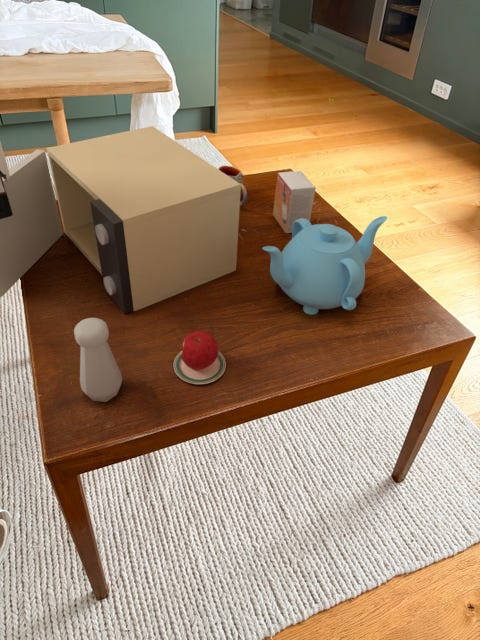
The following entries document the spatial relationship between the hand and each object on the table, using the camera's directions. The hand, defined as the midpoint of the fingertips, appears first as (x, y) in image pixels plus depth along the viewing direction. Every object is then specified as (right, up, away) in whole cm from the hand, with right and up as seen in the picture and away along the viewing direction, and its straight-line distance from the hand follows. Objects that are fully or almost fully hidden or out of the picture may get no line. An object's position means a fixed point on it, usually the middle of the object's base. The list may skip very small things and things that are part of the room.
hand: (1, 216), depth 78 cm
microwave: (+18, -3, +20) cm, 28 cm away
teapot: (+52, -12, +13) cm, 55 cm away
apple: (+32, -24, -2) cm, 40 cm away
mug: (+36, +11, +38) cm, 53 cm away
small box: (+49, +5, +32) cm, 59 cm away
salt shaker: (+18, -27, -6) cm, 33 cm away
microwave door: (-4, -5, +16) cm, 17 cm away
